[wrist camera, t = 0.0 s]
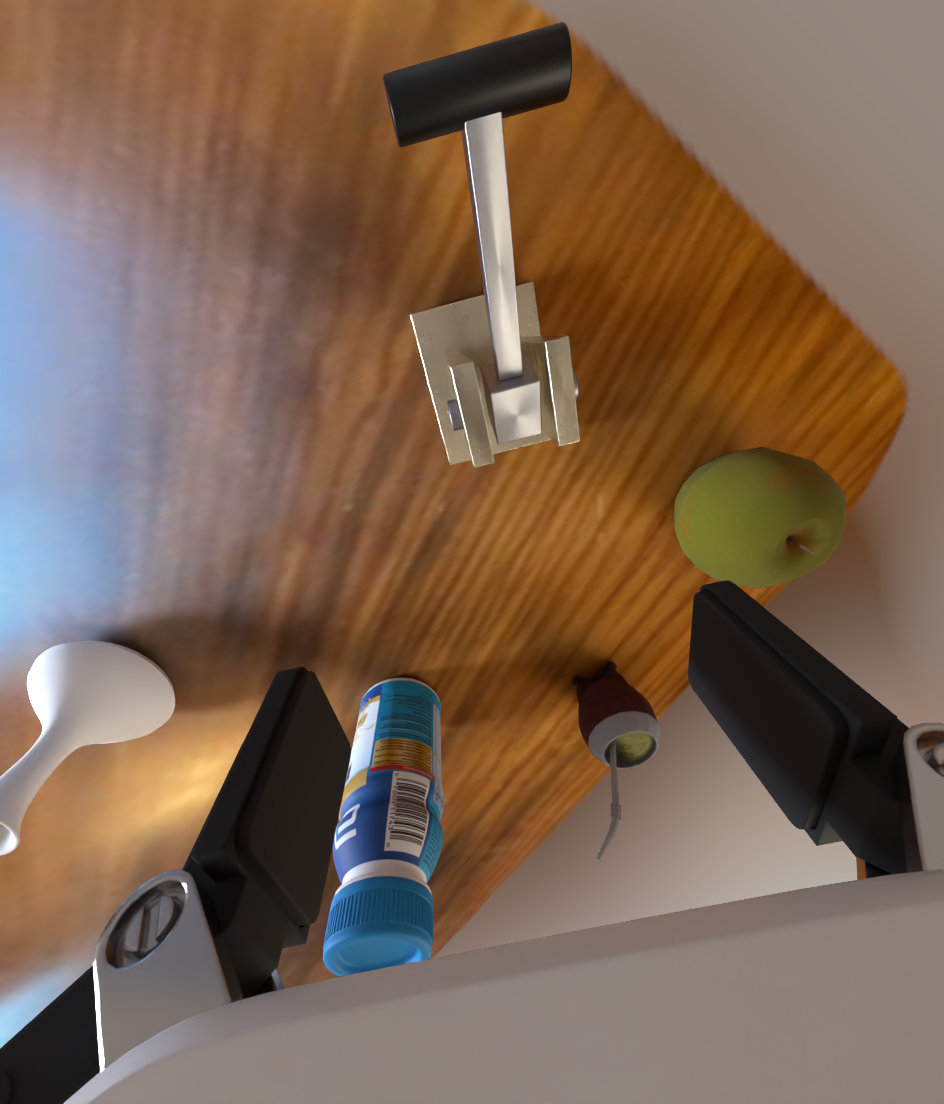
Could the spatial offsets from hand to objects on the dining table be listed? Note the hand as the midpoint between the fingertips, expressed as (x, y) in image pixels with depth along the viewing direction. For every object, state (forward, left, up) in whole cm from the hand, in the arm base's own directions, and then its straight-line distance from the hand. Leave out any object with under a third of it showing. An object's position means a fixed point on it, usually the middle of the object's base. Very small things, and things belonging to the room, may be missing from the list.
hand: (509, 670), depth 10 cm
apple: (+18, +12, -24) cm, 32 cm away
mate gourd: (+28, -8, -24) cm, 38 cm away
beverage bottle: (+14, -23, -24) cm, 36 cm away
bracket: (-2, +5, -24) cm, 24 cm away
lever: (-6, +7, -12) cm, 15 cm away
